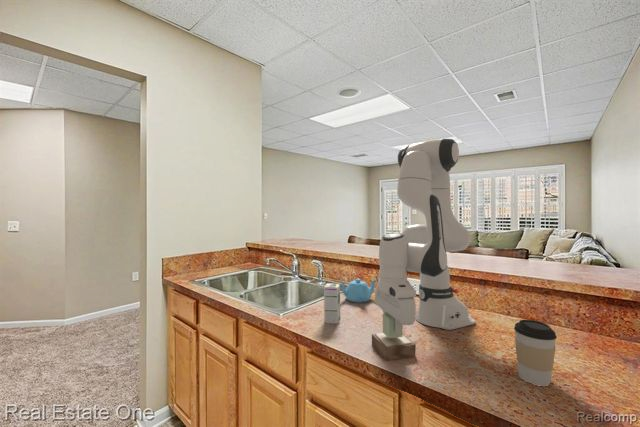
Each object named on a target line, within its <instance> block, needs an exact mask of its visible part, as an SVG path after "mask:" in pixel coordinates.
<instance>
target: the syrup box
mask: <svg viewBox="0 0 640 427" xmlns="http://www.w3.org/2000/svg"><path fill="white" fill-rule="evenodd" d="M323 307H324V309H323V310H324V313H323V314H324V317H323V320H324V321H323V322H324V323H326V324H337V325H338V324H339V322H340V320H341V283H335V282H334V283H332V282H331V283H326V284H325V285H324V287H323Z"/></svg>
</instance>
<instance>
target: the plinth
mask: <svg viewBox="0 0 640 427" xmlns="http://www.w3.org/2000/svg"><path fill="white" fill-rule="evenodd" d="M371 346H372V347H373V348H374V349H375V351H377V353H378V354H379V355H380V356H381V357H382V358H383V359H384V361H390V360H398V359H399V360H400V359H405V358H411V357H412V358H413V357H416V355H417V354H416V346H417V345H416V343H414V342H413V341H412V340H411V339H409V338H408V337H407V336H405V334H403V333H402V337H397V338H388V337H387V336H386V335H385V334H384V333H383V332H378V333H372V334H371Z"/></svg>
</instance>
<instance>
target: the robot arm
mask: <svg viewBox="0 0 640 427" xmlns="http://www.w3.org/2000/svg"><path fill="white" fill-rule="evenodd" d="M459 156H460V150H459V145H458V143H457V142H456V141H455V139H453V138H442V139H432V140H425V141H422V142H421V141H420V142H417V143H413V144H407V145H405V146H402V147H401V148H400V150H399V151H398V154H397V162H398V166H399V168H400V169H399V173H398V179H397V187H396V189H397V191H396V192H397V196H398V199H399V200H400V201H401V203H402V204H404V205H406V206H407V207H409V208H410V209H411V208H412V209H413V210H416V211H419V212H421V213H422V214H423V215H424V217H425V222H426V223H417V224H411V225H407V226H406V227H405V228H403V230H402V233H399V232H397V233H396V232H392V233H387V234H384V235H383V236H382V237H381V238H380V241H379V248H378V263H379V264H378V265H379V271H378V281H377V284H376V286H375V289H374V292H375V293H374V303H375V304H376V305H377V307H379V308H380V309H382V315H383V314H389V315H391V316H392V317H393V318H395V322H396V324H395V325H394V331H395V332H396V333H400V332H401V326H402V327H403V326H410V325H414V323H415V322H416V321H417V322H419V323H420V324H422V325H425V326H429V327H434V328H439V329H444V330H446V331H447V330H448V331H452V330H455V329H459V328H460V329H461V328H464V327H467V326H473V325H475V324H476V320H475V319H474V318H473V317H471V316H470V314H469V309H468V306H466V304H465V303H463V302H462V301H461V300H460V299H459V298H457V297H455V295H454V294H456V295H457V294H459V288H457V287H452V286H450V284H451V283H450V282H451V279H450V278H451V276H450V274H451V273H450V272H451V271H450V270H451V269H450V267H449V265H448V256H447V253H454V252H460V251H465V250H466V249H467V248H468V247H469V246H470V243H471V234H470V232H469V230H468V229H467V228H466V226H464V225H462V224H461V223H460V222H459V221H458V220H457V219H456V216H455V215H454V213H453V210H452V201H451V199H452V198H451V178H450V171H451V169H452V168H454V167H455V165H456V164H457V163H458V160H459ZM407 271H408V272H412V273H417V274H419V284H418V296H419V297H418V298H419V300H418V301H419V302H418V308H417V306H416V304H417V303H416V300H415V298H416V297H417V290H416V288H415V287H413V286H412V284H411V283H410V282H409V280H408V273H407ZM416 308H417V309H416ZM416 311H417V312H416Z"/></svg>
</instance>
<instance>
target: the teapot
mask: <svg viewBox="0 0 640 427" xmlns="http://www.w3.org/2000/svg"><path fill="white" fill-rule="evenodd" d="M377 280H378V278H374V279H372V281H371V283H370V287H369V285H368V284H367V282H366V281H363V280H362V279H361V278H356V279H354V280H351V281H350V282H349V283H348V285H347V286H345V282H344V281H342V280H338V281H339V283H340V286H341V291H342V294H343V295H344V296H345V298H346V300H347V301H349V302H351V303H356V304H357V303H366V302H369V301H370V300H371V298H372V294H373V293H374V292H375V282H376V281H377Z"/></svg>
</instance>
